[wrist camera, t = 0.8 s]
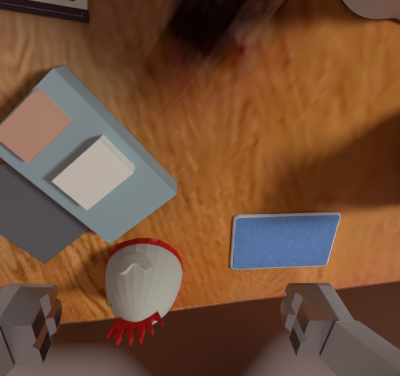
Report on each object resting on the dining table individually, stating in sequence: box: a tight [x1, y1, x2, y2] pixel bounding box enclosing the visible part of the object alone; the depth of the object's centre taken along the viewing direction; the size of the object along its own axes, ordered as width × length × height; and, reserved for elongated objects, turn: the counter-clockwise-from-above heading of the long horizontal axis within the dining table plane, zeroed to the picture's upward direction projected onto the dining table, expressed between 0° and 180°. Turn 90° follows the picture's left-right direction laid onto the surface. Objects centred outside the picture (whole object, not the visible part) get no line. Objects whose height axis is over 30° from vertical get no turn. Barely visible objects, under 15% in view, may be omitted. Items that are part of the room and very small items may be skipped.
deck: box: [0, 66, 177, 244], centre depth 40 cm, size 14×22×4 cm, turn 38°
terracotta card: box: [0, 89, 73, 164], centre depth 35 cm, size 8×5×2 cm, turn 128°
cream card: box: [52, 135, 135, 210], centre depth 38 cm, size 9×6×2 cm, turn 128°
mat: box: [0, 161, 90, 264], centre depth 45 cm, size 14×16×1 cm
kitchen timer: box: [105, 238, 183, 346], centre depth 46 cm, size 14×14×15 cm
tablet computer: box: [230, 212, 341, 270], centre depth 52 cm, size 19×13×1 cm, turn 90°
